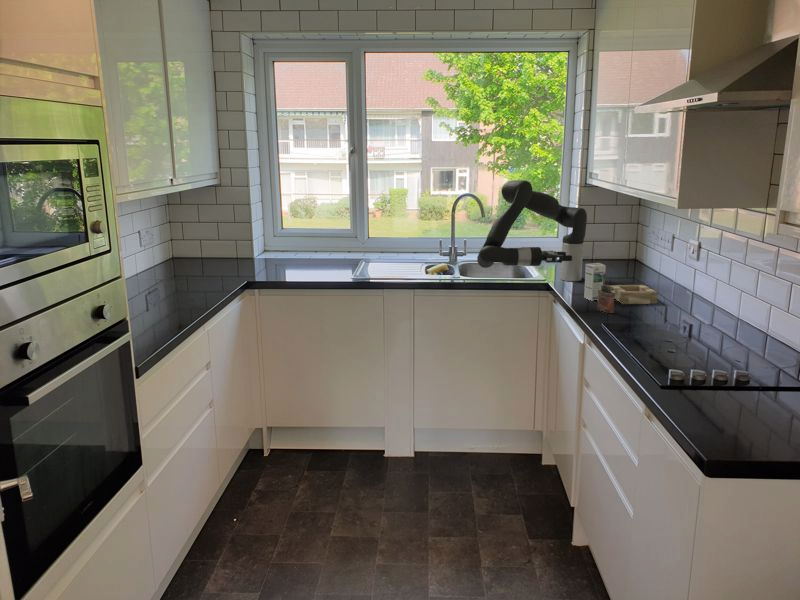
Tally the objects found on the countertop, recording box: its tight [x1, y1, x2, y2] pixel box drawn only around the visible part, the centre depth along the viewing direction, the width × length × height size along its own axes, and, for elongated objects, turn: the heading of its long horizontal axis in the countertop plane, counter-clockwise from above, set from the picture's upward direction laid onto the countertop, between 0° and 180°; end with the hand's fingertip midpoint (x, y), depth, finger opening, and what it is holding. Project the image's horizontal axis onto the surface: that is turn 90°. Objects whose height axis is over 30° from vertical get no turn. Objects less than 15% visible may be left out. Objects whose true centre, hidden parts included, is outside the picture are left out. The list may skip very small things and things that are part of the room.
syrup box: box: [583, 262, 607, 302], centre depth 253 cm, size 6×6×14 cm
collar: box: [609, 284, 659, 305], centre depth 252 cm, size 14×14×4 cm
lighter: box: [596, 284, 615, 314], centre depth 235 cm, size 8×3×10 cm, turn 21°
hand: (568, 256), depth 250 cm, fingers open, 8 cm apart
